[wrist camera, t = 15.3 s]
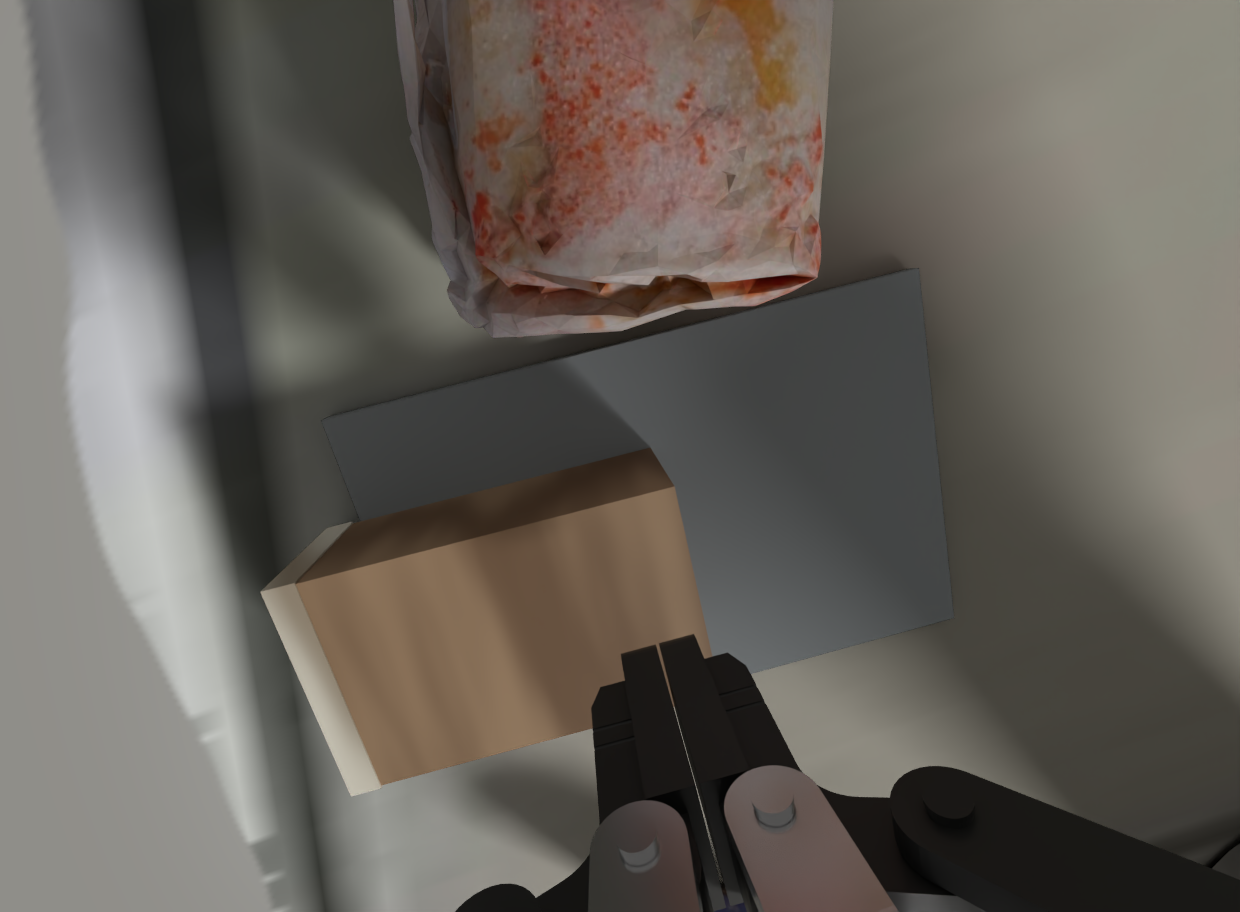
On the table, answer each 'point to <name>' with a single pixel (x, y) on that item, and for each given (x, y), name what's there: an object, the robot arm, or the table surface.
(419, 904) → the table surface
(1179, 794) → the table surface
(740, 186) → the food item
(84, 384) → the table surface
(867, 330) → the mat
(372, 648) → the wooden block
